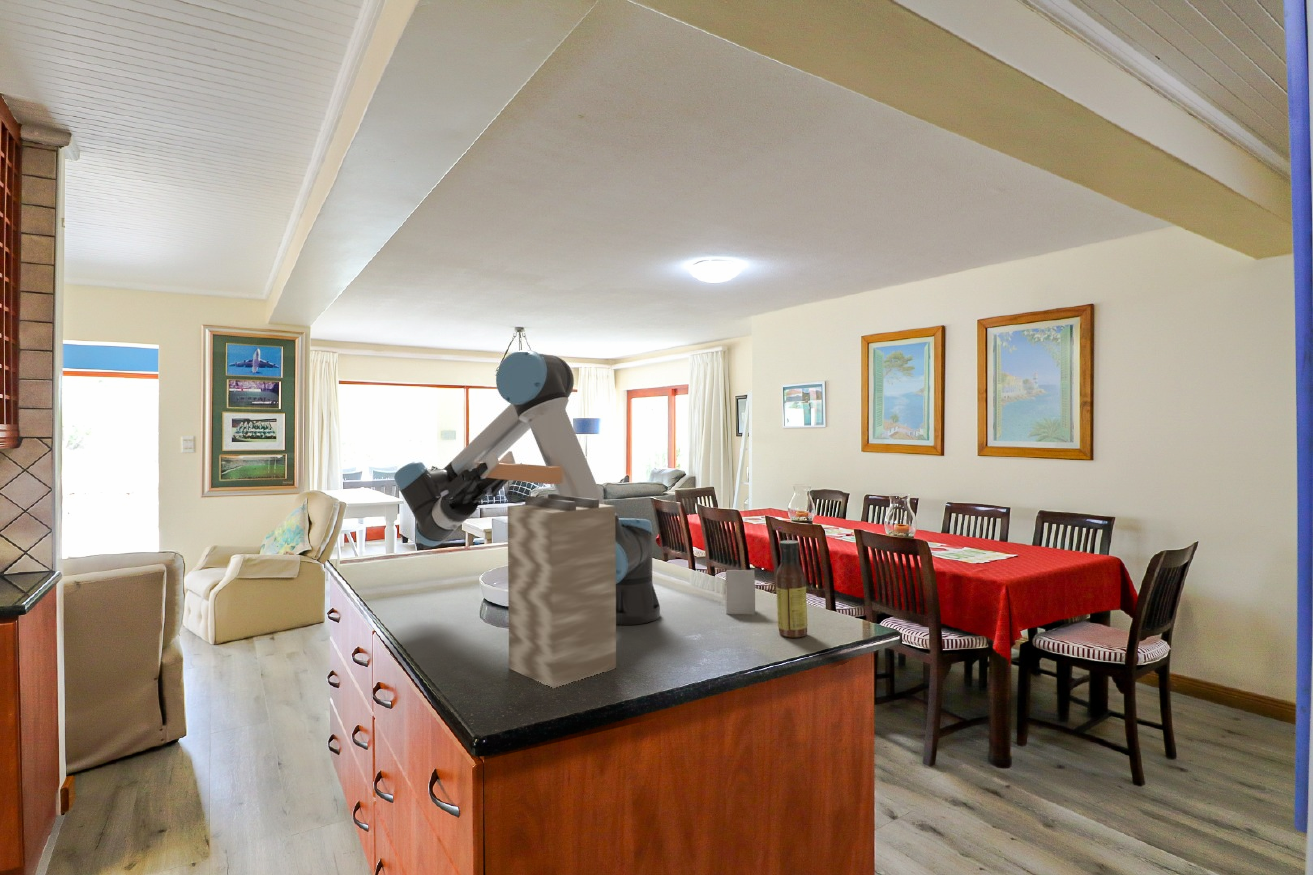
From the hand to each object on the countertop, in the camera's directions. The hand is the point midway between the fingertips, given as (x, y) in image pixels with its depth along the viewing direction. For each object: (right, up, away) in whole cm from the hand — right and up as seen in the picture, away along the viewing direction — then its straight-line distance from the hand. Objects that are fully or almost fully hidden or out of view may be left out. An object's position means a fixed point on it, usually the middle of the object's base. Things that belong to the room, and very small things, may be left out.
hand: (504, 457), depth 141 cm
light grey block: (+51, -38, +25) cm, 68 cm away
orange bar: (+3, -4, -3) cm, 6 cm away
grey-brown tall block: (+14, -38, -13) cm, 43 cm away
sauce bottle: (+60, -38, +7) cm, 71 cm away
